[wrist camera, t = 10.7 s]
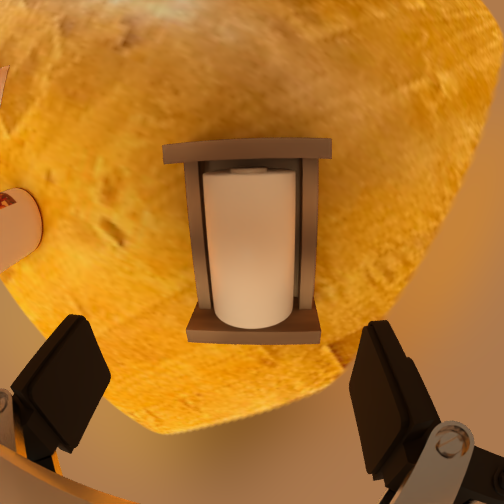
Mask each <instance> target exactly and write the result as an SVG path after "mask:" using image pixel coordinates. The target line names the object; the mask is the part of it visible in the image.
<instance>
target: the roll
mask: <svg viewBox="0 0 504 504" xmlns="http://www.w3.org/2000/svg"><path fill="white" fill-rule="evenodd" d="M203 189H204V203H205V217H206V229H207V241H208V252H209V263H210V274H211V284H212V293H213V303H214V311H215V314H216V316H217V317H218V318H219V319H220V320H221V321H223V322H225V323H226V324H229V325H231V326H234V327H238V328H245V329H258V328H265V327H270V326H273V325H276V324H278V323H280V322H282V321H284V320H285V319H286V318H287V317H288V316H289V315H290V314H291V312H292V309H293V290H294V260H295V198H296V173H295V170H291V169H285V168H273V167H264V166H243V167H234V168H230V169H222V170H215V171H210V172H206V173H204V174H203Z"/></svg>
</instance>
